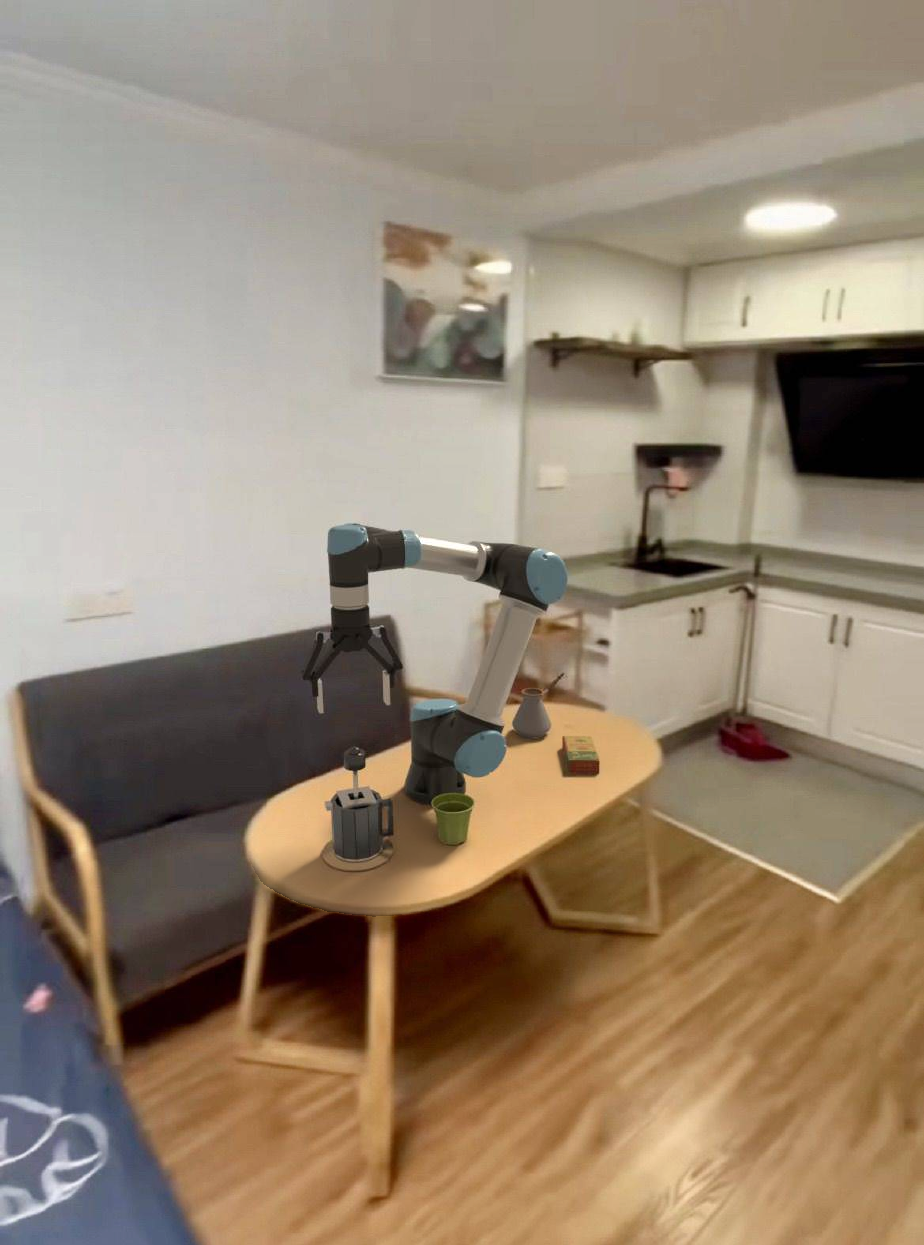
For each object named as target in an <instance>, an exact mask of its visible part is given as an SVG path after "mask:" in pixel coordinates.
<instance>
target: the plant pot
mask: <svg viewBox="0 0 924 1245" xmlns="http://www.w3.org/2000/svg"><path fill="white" fill-rule="evenodd" d="M430 805H431V807H432V808H433V812H434V814H435V819H436V825H437V830H438V832H437V833H438V838H439V841H441V842H443V843H444V844H447V845H453V846H455V845H459V844H460V843H461V844H462V843H465V841H467V839H468V834H469V833H468V832H469V827H470V818H471V813H472V812H473V808H475V800H474V798H472V797H471V796H470V795H467V794H466V793H465V794H460V793H446V794H442V795H439V796H436V797H435V798H434V799H433V800H432V802H431V804H430Z"/></svg>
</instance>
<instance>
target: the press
mask: <svg viewBox="0 0 924 1245" xmlns="http://www.w3.org/2000/svg"><path fill="white" fill-rule="evenodd" d="M358 795H359V799H355V800H354V791H353V787H352V788H346V789H340V790H336V793H334V795H333V796H332V798H331V799H330V800H326V801H324V807H325V811H326V812H330V813H331V814H330V816H331V818H330V819H331V820H330V821H331V837H332V838H331V840H329V841H328V842H327V843H326V844H325V845H324V847H323V849H322V852H321V853H322V854H321V855H322V859H323V862H324V863H325V864H326V865H327V866H329V867H330V868H332V869H334V870H337V871H342V872H346V873H348V872H349V873H359V872H367V871H371V870H374V869H377V868H380V867H381V866H383V865H385V864H387V863H388V862H389V860H391V858H392V856H394V844H393V843H392V841H391V840H390V839H389V838H388V837H393V836H395V829H394V828H395V826H394V824H395V821H394V800H393V798H392V797H390V798H389V797H388V798H382V796H381V794H380V792H378V791H376V790H373V789H371V788H370V786H369V785H367V786H362V787H358ZM356 807H359V809H354V808H356ZM383 808H386V812H387V813H386V816H387V817H386V818H387V819H386V821H387V823H386V825H387V828H383V825H384V824H383Z"/></svg>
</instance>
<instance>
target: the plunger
mask: <svg viewBox="0 0 924 1245" xmlns="http://www.w3.org/2000/svg"><path fill="white" fill-rule="evenodd" d="M343 765H344V766H343V767H344V768H343V769H345V770H347V771H350V772H352V788H353V791H354V800H355V799H359V795H358V788H359V776H358V772H359V771H362V770H364V769H365V768H366V751H365V750H364V749H361V748H360V747H357V746H351V747H350V748H349V749H347V750H345V751H344V752H343ZM354 809H359V807H356V808H354Z"/></svg>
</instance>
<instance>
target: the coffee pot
mask: <svg viewBox="0 0 924 1245" xmlns="http://www.w3.org/2000/svg"><path fill="white" fill-rule="evenodd" d="M564 676H566V677H568V675H567V674H566V673H565V672H561V673H560V675H557V678H555V679H554V680H552V682H551V683H550V684H549V685H548V686H547V687H546V689H545V690H543V689H540V688H537V687H528V688H523V689H522V690H521V691H520V692H521V694H522V696H523V698H522V700H521V702H520V705H519V707H518V709H517V710H516V713H515V715H514V717H513V719H512V723H511V725H512V728H513V729H514V731H515V732H516V733H518V735H519V736H521V737H524V738H528V739H537V738H538V739H539V738H541V737H543V736H545V734H547V733H548V732H549V731H550V729H551V728H552V721H551V719H550V716H549V714H548V712H547V709H546V707H545V704H544V702H543V699H542V698H543V697H544V696H545V695H546V694H547V693H548V692H549V691H550V690H551V689H552V688H553V687H555V685H557V683H558V682H559V680H561V679H562V678H563V679H565V677H564Z"/></svg>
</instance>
